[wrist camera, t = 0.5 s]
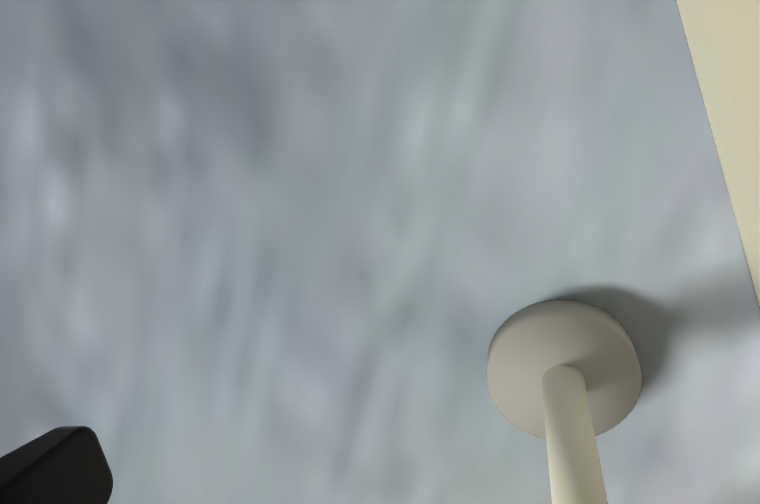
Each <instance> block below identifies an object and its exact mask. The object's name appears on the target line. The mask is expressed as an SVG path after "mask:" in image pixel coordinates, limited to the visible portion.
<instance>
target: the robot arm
mask: <svg viewBox="0 0 760 504" xmlns="http://www.w3.org/2000/svg"><path fill="white" fill-rule="evenodd" d="M112 488H113V477H112V473H111V470H110V468H109V465H108V463H107V460H106V458H105V456H104V453H103V451H102V448H101V446H100V443H99V441H98V438H97V436H96V434H95V432H94V431H93V430H92V429H90V428H89V427H86V426H64V427H58V428H55V429H53V430H51V431H49V432H47V433H46V434H44V435H42V436H40V437H38V438H36V439H34V440H33V441H31V442H29V443H27V444H25V445H23V446H21V447H19V448H18V449H16V450H14V451H12V452H10V453H8V454H6V455H5V456H3V457H1V458H0V504H107V503H108V501H109V498H110V496H111V493H112Z"/></svg>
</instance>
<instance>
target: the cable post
mask: <svg viewBox="0 0 760 504" xmlns="http://www.w3.org/2000/svg"><path fill="white" fill-rule="evenodd" d="M487 381H488V389H489V394H490V396H491V399H492V401H493V403H494V405H495V407H496V408H497V409H498V411H499V412H500V413H501V415H502V416H503V417H504V418H505V419H506V420H507V421H509V422H510V423H511V424H512V425H514V426H515V427H517V428H519V429H520V430H522V431H524V432H526V433H528V434H531V435H534V436H537V437H540V438H544V439H547V451H548V462H549V473H550V484H551V495H552V504H608V502H607V497H606V492H605V486H604V481H603V476H602V470H601V465H600V460H599V454H598V449H597V444H596V438H595V436H597V435H599V434H602V433H604V432H606V431H608V430H610V429H612V428H613V427H615V426H616V425H618V424H619V423H620V422H621V421H622V420H624V419H625V418H626V417H627V416H628V414H629V413H630V412H631V411H632V409H633V408H634V406H635V404H636V403H637V400H638V398H639V396H640V392H641V387H642V373H641V368H640V364H639V361H638V358H637V355H636V352H635V349H634V346H633V343H632V340H631V338H630V336H629V334H628V333H627V331H626V330H625V328H624V327H623V326H622V325H621V324H620V322H619V321H618V320H616V319H615V318H614V317H613V316H612V315H610V314H609V313H607V312H606V311H604V310H602V309H600V308H598V307H596V306H593V305H590V304H587V303H584V302H579V301H573V300H550V301H544V302H540V303H536V304H533V305H530V306H527V307H525V308H523V309H521V310H519V311H518V312H516V313H515V314H513V315H512V316H510V317H509V318H508V319H507V320H506V321H505V322H504V323H503V324H502V325H501V326H500V327H499V329H498V330H497V332H496V333H495V335H494V337H493V339H492V341H491V344H490V348H489V353H488V372H487Z"/></svg>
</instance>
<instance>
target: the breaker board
mask: <svg viewBox="0 0 760 504" xmlns="http://www.w3.org/2000/svg"><path fill="white" fill-rule="evenodd" d="M676 1H677V5H678V9H679V12H680V16H681V20H682V23H683V27H684V31H685V34H686V38H687V42H688V45H689V49H690V53H691V56H692V60H693V64H694V67H695V71H696V75H697V78H698V82H699V86H700V89H701V93H702V97H703V100H704V104H705V108H706V111H707V115H708V119H709V122H710V126H711V130H712V133H713V137H714V141H715V144H716V148H717V152H718V155H719V159H720V163H721V166H722V170H723V174H724V177H725V181H726V185H727V188H728V192H729V196H730V200H731V203H732V207H733V211H734V214H735V218H736V222H737V225H738V229H739V233H740V236H741V240H742V244H743V247H744V251H745V255H746V258H747V262H748V266H749V269H750V273H751V277H752V280H753V284H754V288H755V291H756V295H757V299H758V302H759V306H760V0H676Z"/></svg>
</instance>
